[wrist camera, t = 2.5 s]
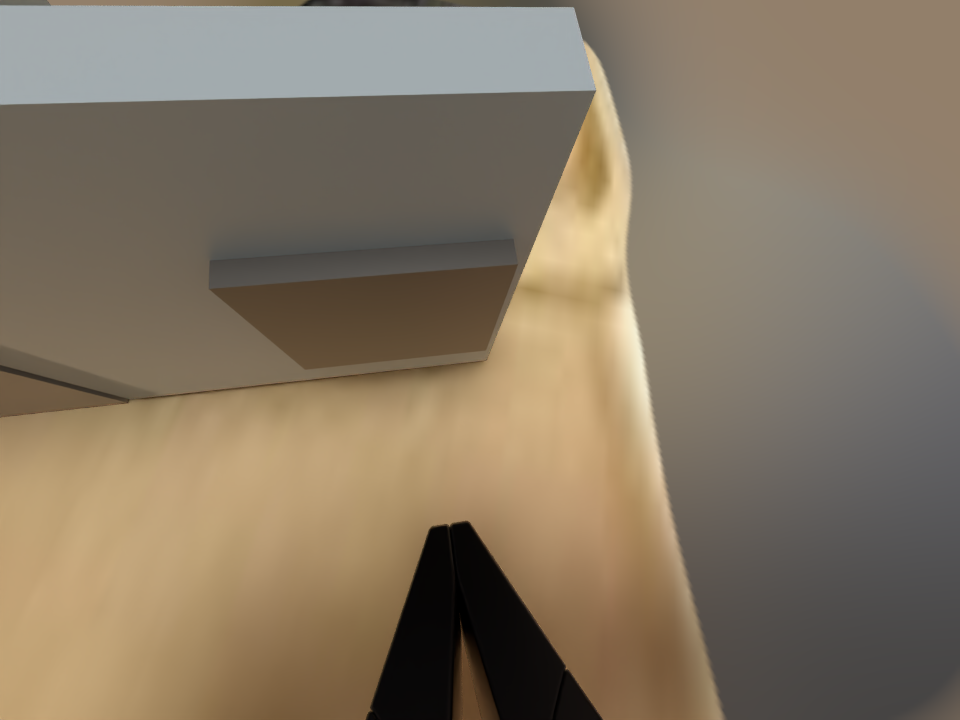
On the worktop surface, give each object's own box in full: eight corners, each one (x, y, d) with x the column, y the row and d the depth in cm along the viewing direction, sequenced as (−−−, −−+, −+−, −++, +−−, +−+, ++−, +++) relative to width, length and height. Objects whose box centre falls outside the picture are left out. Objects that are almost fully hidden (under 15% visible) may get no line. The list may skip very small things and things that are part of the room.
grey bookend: (488, 373, 18) (605, 126, 5) (128, 414, 16) (-953, 183, 4) (454, 149, 21) (480, -338, 8) (149, 162, 19) (-393, -437, 7)
